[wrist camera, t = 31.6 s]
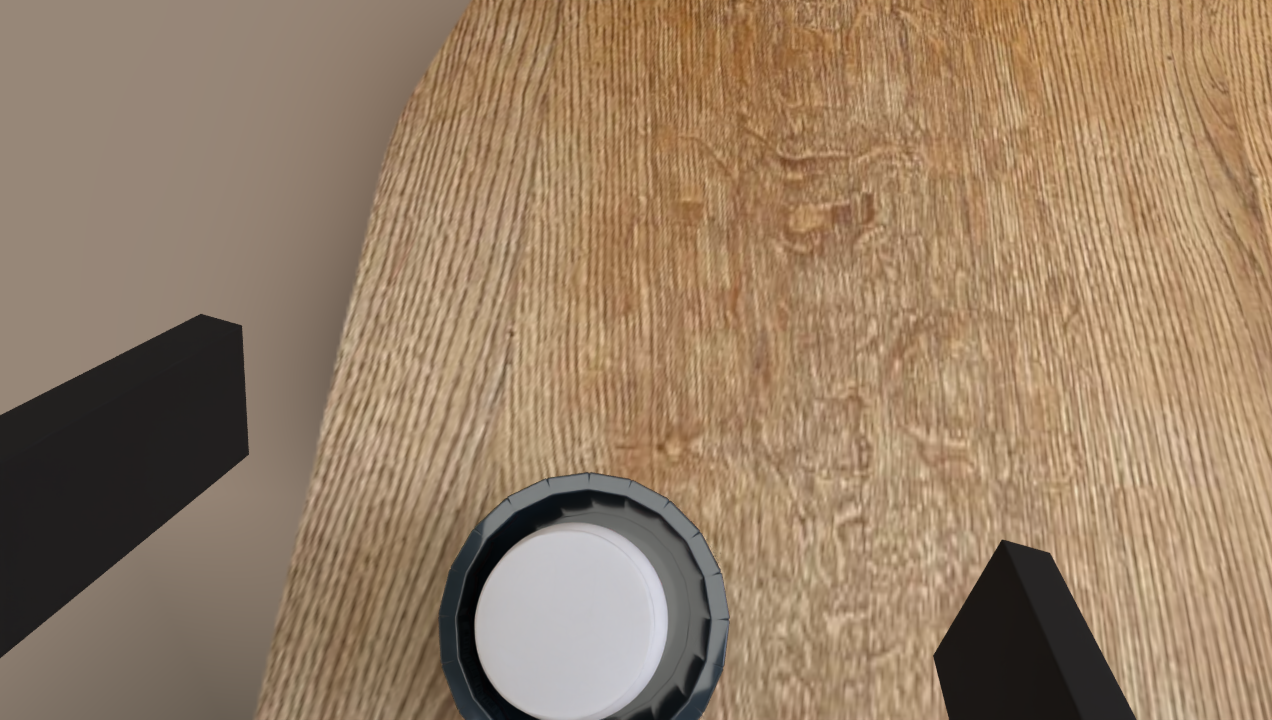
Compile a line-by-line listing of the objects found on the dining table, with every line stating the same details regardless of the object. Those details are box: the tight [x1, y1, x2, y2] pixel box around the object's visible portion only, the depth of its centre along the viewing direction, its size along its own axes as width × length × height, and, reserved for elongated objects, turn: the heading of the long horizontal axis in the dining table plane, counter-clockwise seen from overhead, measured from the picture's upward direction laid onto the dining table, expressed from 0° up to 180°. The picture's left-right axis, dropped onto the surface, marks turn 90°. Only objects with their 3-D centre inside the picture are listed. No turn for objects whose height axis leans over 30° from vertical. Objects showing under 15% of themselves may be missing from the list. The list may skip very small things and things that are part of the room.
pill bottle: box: [475, 522, 668, 720], centre depth 23 cm, size 6×6×10 cm
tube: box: [438, 472, 730, 720], centre depth 25 cm, size 9×9×7 cm
